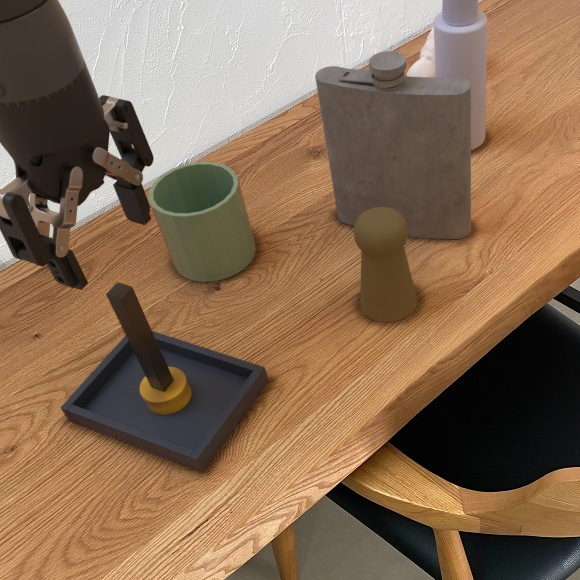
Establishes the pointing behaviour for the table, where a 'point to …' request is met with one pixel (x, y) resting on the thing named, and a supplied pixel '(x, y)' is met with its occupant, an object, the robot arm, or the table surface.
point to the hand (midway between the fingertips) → (109, 251)
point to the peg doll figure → (384, 265)
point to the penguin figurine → (425, 60)
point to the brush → (149, 355)
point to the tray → (178, 426)
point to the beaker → (203, 220)
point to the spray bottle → (464, 55)
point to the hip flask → (399, 145)
